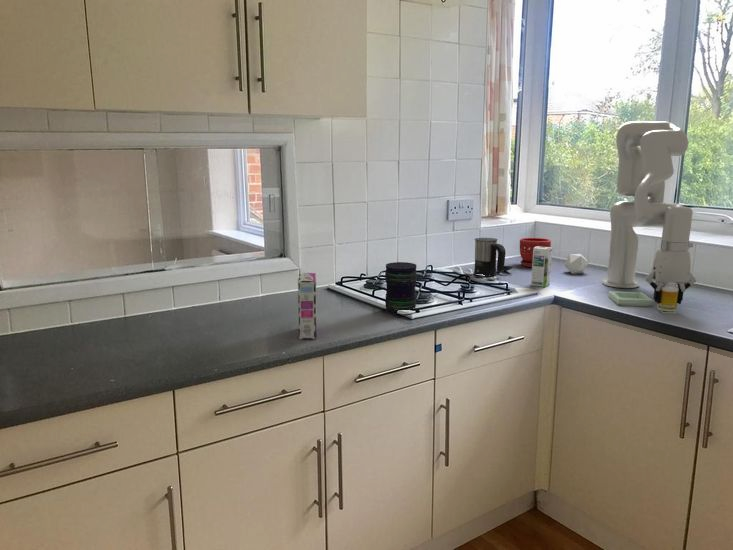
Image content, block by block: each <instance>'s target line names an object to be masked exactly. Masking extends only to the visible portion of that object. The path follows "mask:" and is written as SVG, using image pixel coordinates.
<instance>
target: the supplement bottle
mask: <svg viewBox="0 0 733 550" xmlns="http://www.w3.org/2000/svg"><path fill="white" fill-rule="evenodd" d="M660 291H661V292H662V293H661V301H660V303H657V305H656V306H657V310H658V309H660V310H663V311H675V312H676V311H677V305H678V303H677V299H678V291H679V289H678V286H677V283H675V282H668V283H663V285H662V287H661V289H660Z"/></svg>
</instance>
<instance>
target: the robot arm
mask: <svg viewBox="0 0 733 550" xmlns="http://www.w3.org/2000/svg"><path fill="white" fill-rule="evenodd" d="M615 139H616V141H615V143H616V148H617V154H618V166H617V167H618V168H617V179H616V180H617V181H616V191H617V194H618V195H619V196H620V197H623V198H634V199H633V200H621V201H617V202H615V203H614V204H612V205H611V207H610V211H609V212H610V213H609V215H610V217H609V218H610V231H611V232H610V242H609V253H608V254H609V256H608V266H607V277H606V278H603V279H602V282H601V283H602V284H603V285H604V286H608V287H612V288H620V289H633V288H638V287H639V284H640V283H639V282H638V281H636V280H635V279H636V271H637V270H636V269H637V261H638V259H637V258H638V252H639V251H638V249H639V236H638V235H637V233H636V232H635V230H634V228H639V227H640V228H643V227H644V228H647V227H648V228H652V227H653V228H654V227H656V228H657V227H658V228H660V227H662V233H661V240H660V242H661V243H660V248H658V249H657V250H656V252H655V257H654V260H653V264H652V268H651V272H650V273H648V274H647V276H645V277H644V281H645V282H647V284H649V286H650V287H652V289H653V299H652V300H653V301H654V303H657V304H658V303H660V301H661V293H662V292H661V291H660V289H661V287H662V285H663V283H668V282H675V283H677V285H676V286H677V287H678V289H679V291H678V299H677V305H681V304H682V301H684V300H683V299H684V293H685V292H686V290H688V289H690V287H691V286H692V285H694V284H695V283H697V279H696V277H694V276H693V274H692V273H691V252H690V251H689V249H690V248H693V247H694V243H693V242H690V238H691V237H690V236H691V230H692V229H691V228H692V221H693V209H692V208H691V207H689V206H683V205H682V204H681V203H676V202H675V203H673V202H664V198H665V189H666V188H665V187H666V186H665V185H666V183H665V181H667V180H668V179H669V180H670V179H671V177H672V176H673V175H674V173H675V172H674V171H675V169H674V166H673V159H672V157H679V156H682V155H684V154H685V153H686V152H687V151H688V147H689V139H688V136H687V134H686V132H685V131H684V130H683V129H681V127H679V126H677V124H674V123H673V122H670V121H665V120H664V121H662V120H661V121H659V120H658V121H656V120H655V121H653V120H652V121H649V120H648V121H647V120H639V121H638V120H637V121H636V120H635V121H627V122H625V123H623V124H621V125H620V126H619V127H618V130H617V132H616V138H615ZM652 279H653V280H655V282H654V281H653V280H652Z"/></svg>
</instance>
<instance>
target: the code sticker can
mask: <svg viewBox="0 0 733 550" xmlns="http://www.w3.org/2000/svg"><path fill="white" fill-rule="evenodd" d="M657 310H658V311H659V312H661V314H677V311H676V310H675V311H663V310H660V309H658V308H657Z"/></svg>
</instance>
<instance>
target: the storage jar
mask: <svg viewBox="0 0 733 550" xmlns="http://www.w3.org/2000/svg"><path fill="white" fill-rule="evenodd" d="M384 277H385V283H386V284H385V285H386V291H385V292H386V293H385V299H384V300H385V313H387V314H390V315H392V314H393V316H397V315H396V314H397V311H398V310H409V309H413V308H415V309H416V307H417V300H416V299H417V295H416V283H417V278H418V276H417V264H416V263H413V262H408V261H407V262H404V261H403V262H402V261H399V262H394V261H393V262H389V263H386V264H385V275H384Z"/></svg>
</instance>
